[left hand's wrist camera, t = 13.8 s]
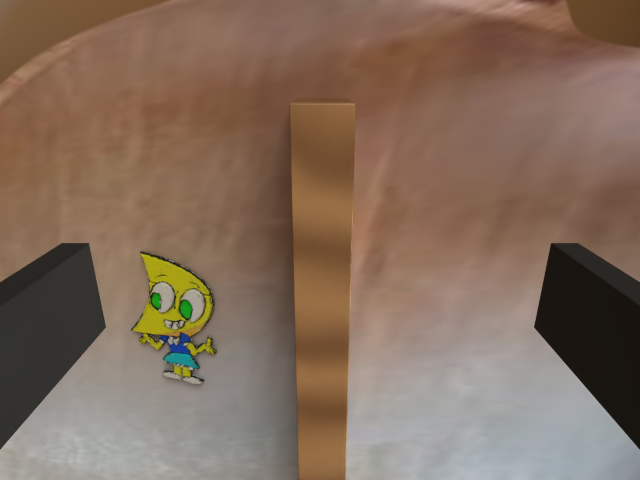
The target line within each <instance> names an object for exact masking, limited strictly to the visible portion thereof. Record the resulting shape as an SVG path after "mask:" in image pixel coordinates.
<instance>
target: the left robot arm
mask: <svg viewBox="0 0 640 480" xmlns="http://www.w3.org/2000/svg"><path fill="white" fill-rule="evenodd" d="M105 328H106V326H105V321H104V316H103V311H102V306H101V301H100V296H99V291H98V286H97V281H96V276H95V271H94V266H93V261H92V256H91V252H90V247H89V243H62V244H60V245H58V246H57V247H55V248H54V249H52V250H50V251H49V252H47V253H46V254H44V255H43V256H41V257H39V258H38V259H36V260H35V261H33V262H32V263H30V264H28V265H27V266H25V267H24V268H22V269H21V270H19V271H17V272H16V273H14V274H13V275H11V276H9V277H8V278H6V279H5V280H3V281H2V282H0V449H1V448H2V447H3V446H4V444H5V443H6V442H7V441H8V440H9V439H10V438H11V436H12V435H13V434H14V433H15V432H16V431H17V429H18V428H19V427H20V426H21V425H22V424H23V423H24V421H25V420H26V419H27V418H28V417H29V416H30V414H31V413H32V412H33V411H34V410H35V409H36V407H37V406H38V405H39V404H40V403H41V402H42V401H43V399H44V398H45V397H46V396H47V395H48V394H49V392H50V391H51V390H52V389H53V388H54V387H55V386H56V384H57V383H58V382H59V381H60V380H61V379H62V377H63V376H64V375H65V374H66V373H67V372H68V370H69V369H70V368H71V367H72V366H73V365H74V364H75V362H76V361H77V360H78V359H79V358H80V357H81V355H82V354H83V353H84V352H85V351H86V350H87V349H88V347H89V346H90V345H91V344H92V343H93V342H94V340H95V339H96V338H97V337H98V336H99V335H100V333H101V332H102V331H103V330H104V329H105ZM534 328H535V329H536V330H537V331H538V332H539V333H540V335H541V336H542V337H543V338H544V339H545V340H546V342H547V343H548V344H549V345H550V346H551V347H552V349H553V350H554V351H555V352H556V353H557V354H558V355H559V357H560V358H561V359H562V360H563V361H564V362H565V364H566V365H567V366H568V367H569V368H570V369H571V370H572V372H573V373H574V374H575V375H576V376H577V377H578V379H579V380H580V381H581V382H582V383H583V384H584V386H585V387H586V388H587V389H588V390H589V391H590V392H591V394H592V395H593V396H594V397H595V398H596V399H597V401H598V402H599V403H600V404H601V405H602V406H603V407H604V409H605V410H606V411H607V412H608V413H609V414H610V416H611V417H612V418H613V419H614V420H615V421H616V423H617V424H618V425H619V426H620V427H621V428H622V429H623V431H624V432H625V433H626V434H627V435H628V436H629V438H630V439H631V440H632V441H633V442H634V443H635V444H636V446H637V447H638V448H639V449H640V282H638V281H637V280H635V279H634V278H632V277H631V276H629V275H627V274H626V273H624V272H623V271H621V270H619V269H618V268H616V267H615V266H613V265H612V264H610V263H608V262H607V261H605V260H604V259H602V258H601V257H599V256H597V255H596V254H594V253H593V252H591V251H590V250H588V249H586V248H585V247H583V246H582V245H580V244H578V243H551V247H550V252H549V256H548V261H547V266H546V271H545V276H544V281H543V286H542V291H541V296H540V301H539V306H538V311H537V316H536V321H535V326H534Z"/></svg>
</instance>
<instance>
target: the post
mask: <svg viewBox="0 0 640 480" xmlns="http://www.w3.org/2000/svg"><path fill="white" fill-rule="evenodd" d="M355 109H356V104H355V103H353V102H352V101H351V100H349V99H295V100H294V101H293V102H292V103H290V140H291V181H292V223H293V264H294V305H295V347H296V388H297V429H298V470H299V480H345V476H346V439H347V402H348V366H349V329H350V292H351V255H352V219H353V182H354V145H355Z"/></svg>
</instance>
